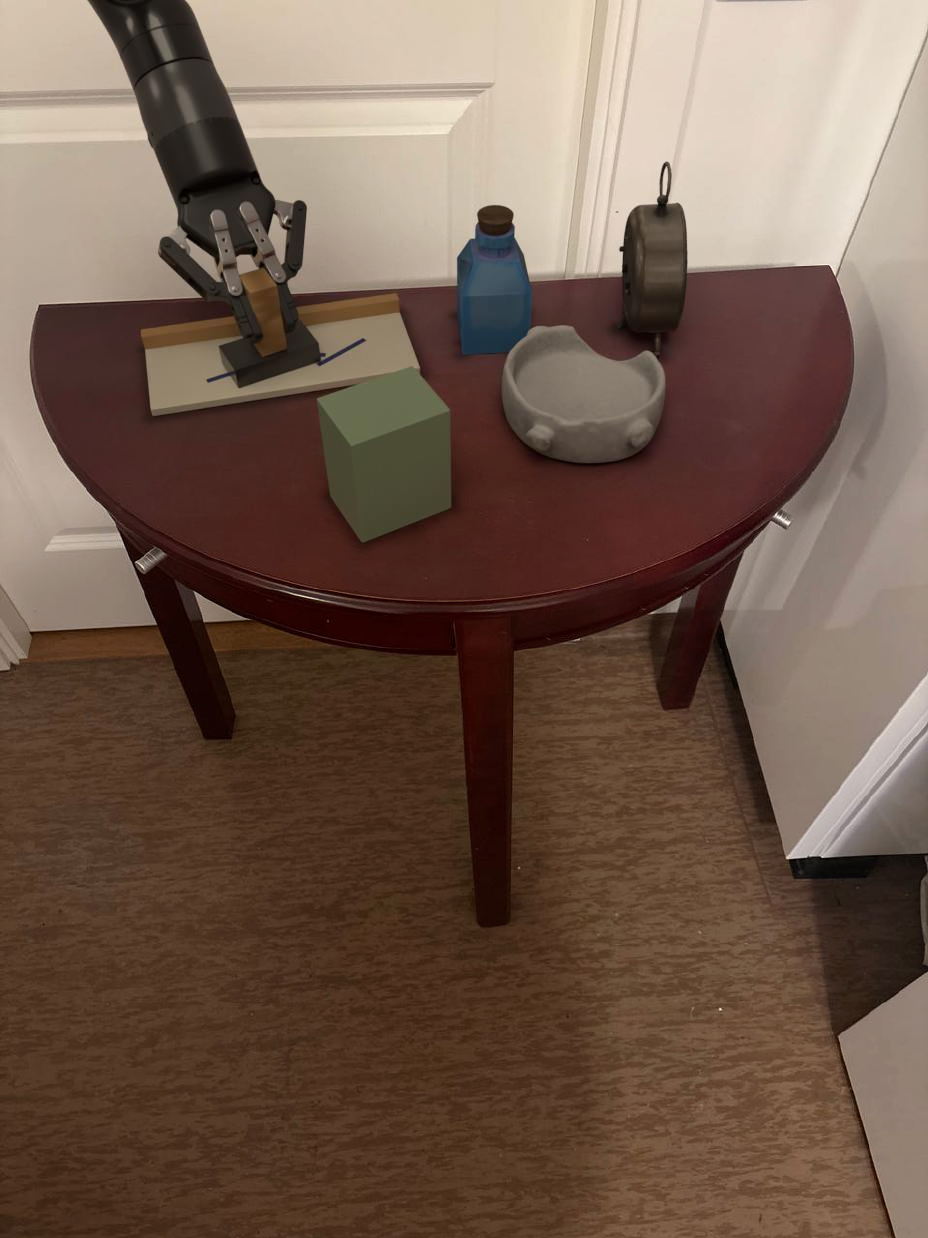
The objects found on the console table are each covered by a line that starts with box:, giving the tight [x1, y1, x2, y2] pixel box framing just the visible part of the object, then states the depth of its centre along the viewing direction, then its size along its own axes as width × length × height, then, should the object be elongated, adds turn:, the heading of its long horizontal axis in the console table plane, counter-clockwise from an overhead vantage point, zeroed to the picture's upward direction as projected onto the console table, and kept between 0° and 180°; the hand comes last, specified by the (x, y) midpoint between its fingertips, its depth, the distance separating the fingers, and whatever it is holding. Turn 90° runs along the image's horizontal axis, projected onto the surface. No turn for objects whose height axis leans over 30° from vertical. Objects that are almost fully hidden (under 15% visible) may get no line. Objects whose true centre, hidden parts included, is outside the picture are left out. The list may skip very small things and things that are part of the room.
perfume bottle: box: [456, 204, 533, 356], centre depth 91 cm, size 6×6×12 cm
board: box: [140, 292, 421, 417], centre depth 92 cm, size 24×10×2 cm, turn 104°
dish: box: [501, 324, 667, 464], centre depth 86 cm, size 14×14×5 cm
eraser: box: [219, 268, 321, 388], centre depth 88 cm, size 8×4×8 cm, turn 119°
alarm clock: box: [617, 161, 689, 358], centre depth 90 cm, size 11×5×16 cm, turn 179°
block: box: [316, 366, 452, 544], centre depth 78 cm, size 8×6×10 cm
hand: (274, 334), depth 87 cm, fingers closed on eraser, 2 cm apart
